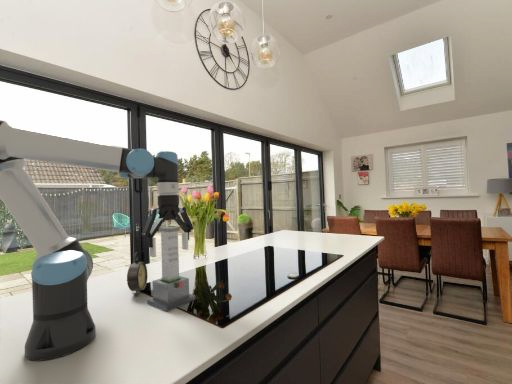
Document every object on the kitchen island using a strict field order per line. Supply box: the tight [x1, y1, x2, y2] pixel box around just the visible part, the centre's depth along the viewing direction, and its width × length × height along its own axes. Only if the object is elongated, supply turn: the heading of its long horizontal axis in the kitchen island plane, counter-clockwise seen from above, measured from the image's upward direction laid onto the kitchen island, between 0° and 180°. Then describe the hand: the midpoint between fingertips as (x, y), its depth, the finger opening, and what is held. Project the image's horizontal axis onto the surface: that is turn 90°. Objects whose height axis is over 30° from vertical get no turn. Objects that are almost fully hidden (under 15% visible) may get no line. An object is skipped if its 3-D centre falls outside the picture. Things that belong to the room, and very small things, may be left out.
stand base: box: [146, 275, 196, 313], centre depth 96 cm, size 12×12×8 cm
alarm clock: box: [126, 251, 148, 297], centre depth 106 cm, size 11×5×16 cm, turn 5°
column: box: [158, 226, 181, 283], centre depth 96 cm, size 4×6×19 cm
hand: (170, 252), depth 96 cm, fingers open, 13 cm apart
